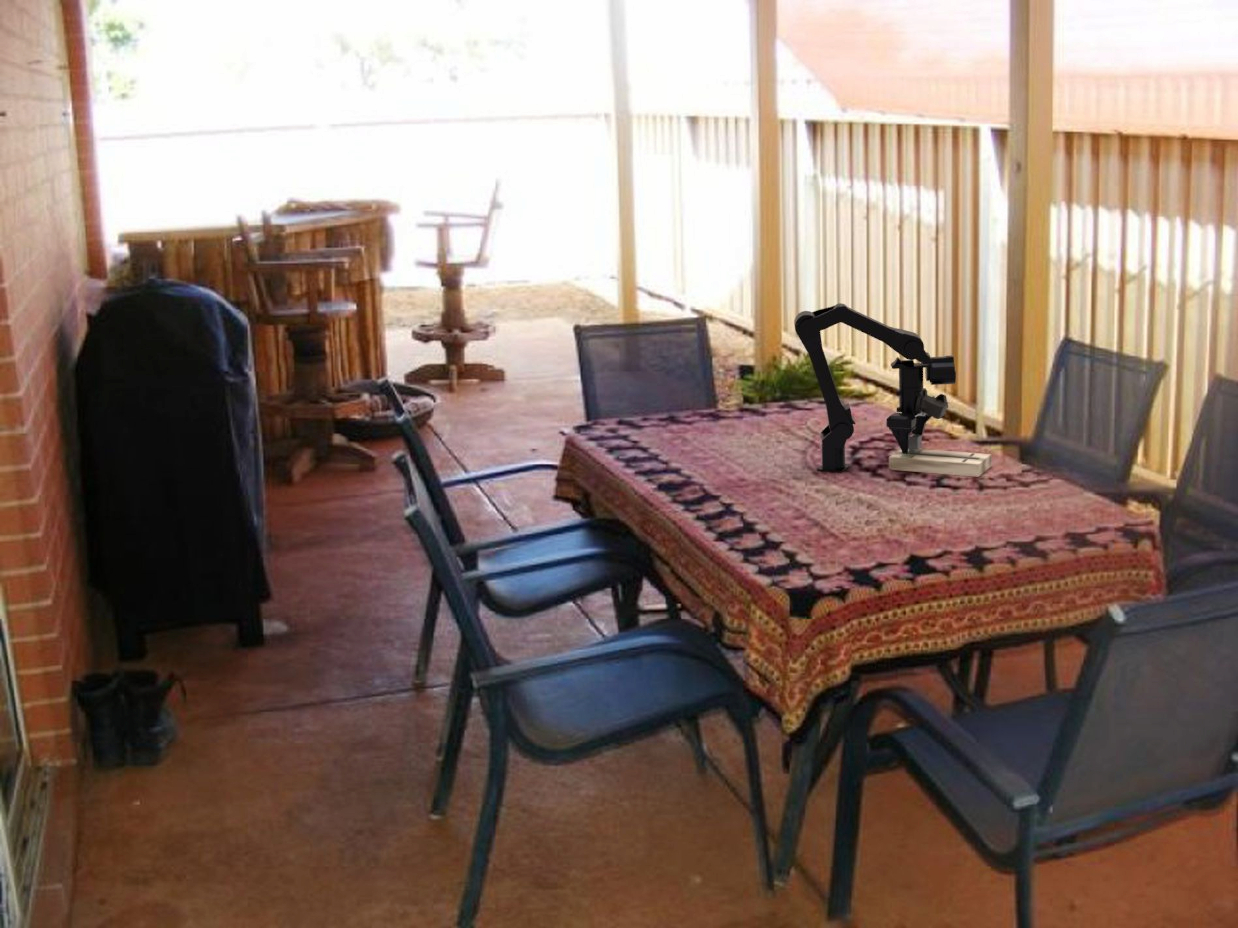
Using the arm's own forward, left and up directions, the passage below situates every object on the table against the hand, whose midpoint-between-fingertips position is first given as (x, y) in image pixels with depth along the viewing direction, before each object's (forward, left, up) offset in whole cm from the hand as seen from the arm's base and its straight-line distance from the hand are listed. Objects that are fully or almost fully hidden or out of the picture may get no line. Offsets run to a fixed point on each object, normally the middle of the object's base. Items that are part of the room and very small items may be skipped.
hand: (911, 448), depth 365 cm
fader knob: (0, 0, -1) cm, 1 cm away
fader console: (0, -7, -4) cm, 8 cm away
